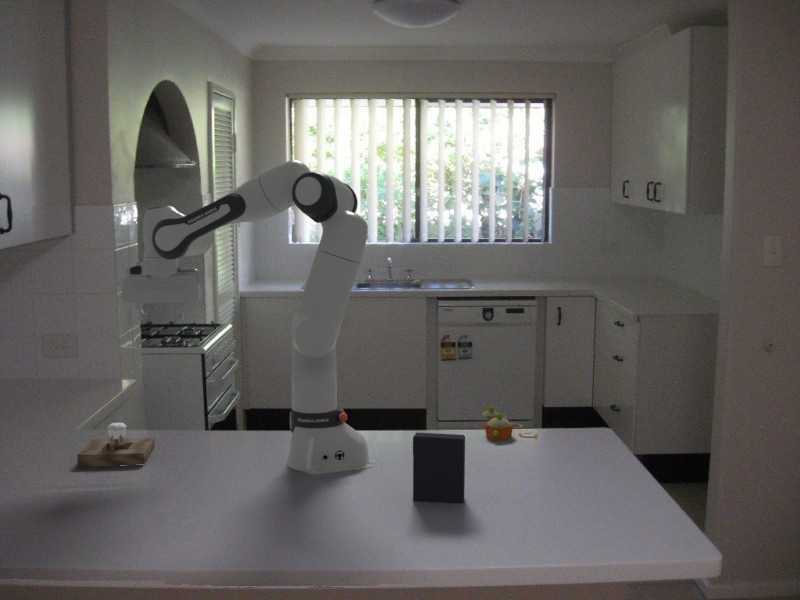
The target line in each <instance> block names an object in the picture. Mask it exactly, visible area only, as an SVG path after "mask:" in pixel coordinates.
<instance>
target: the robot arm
mask: <svg viewBox="0 0 800 600" xmlns="http://www.w3.org/2000/svg"><path fill="white" fill-rule="evenodd" d="M358 202H359V201H358V197H357V194H356V193H355V191H354V190H353V188H352V187H351V186H350V185H349V184H347V183H345V182H344V181H343V182H342V181H341V180H340V179H339V178H337V177H335V176H334V175H331V174H326V173H325V172H323V171H322V172H321V171H315V170H314V171H311V170H310V168H309V167H308V166H307V165H306V164H305V163H304V162H302V161H301V160H299V159H290V160H288V161H285V162H282V163H281V162H280V163H278V164H277V165H274V166H271V167H269V168H267V169H266V170H264V171H261V172H260V173H257V174H256V175H254V176H253V177H252V178H250V179H248V180H247V181H245V182H244V183H242V184H241V185H240V186H238V187H236V188H235V189H233V190H232V191H230V192H228V193H227V194H225V195H224V196H222V197H221V198H219V199H217V200H214V201H213V202H211V203H208V204H207V205H205V206H203V207H201V208H199V209H197V210H194V211H193V212H191V213H189V214H183V213H182V212H180V211H179V210H177V209H176V207H174V206H172V205H163V206H162V205H158V206H154V207H151V208H148V209H147V210H146V211H145V213H144V215H143V221H142V241H143V245H144V252H143V256H142V257H143V258H142V259H143V261H142V262H137V263H135V264H132V265H129V266H127V267H125V274H126V277H124V278H123V280H122V285H121V286H122V287H121V301H122V302H123V303H124V304H135V308H136V310H137V311H138V313H139V314H140V320H141V321H147V320H148V312H145V311H144V310H143V308H142V307H144V304H180V307H181V308H182V309H181V311H180V312H177V313H176V316H177V317H176V320H177V321H184V319H185V317H184V316H185V315H184V314H185V312H186V311H187V309H188V307H189V306H188V304H192V303H193V304H197V303H199V302H200V301H201V298H202V292H201V285H200V284H201V283H202V272H201V271H200V270H199V269H197V268H195V267H179V259H180V258H186V257H187V258H188V257H192V256H199V255H202V254H204V253H206V252H207V251H208V250H210V247H211V245H212V243H213V233H212V232H214V231H217V230H218V229H220V228H222V227H225V226H229V225H233V224H234V225H235V224H239V223H247V222H248V223H250V222H251V223H252V222H259V221H263V220H266V219H269V218H271V217H275V216H277V215H279V214H281V213H283V212H285V211H286V210H288V209H290V208H292V207H293V206H296V207H297V209H299V210H300V211H301V212H302V213H303V214H304V215H305V216H306V217H308V218H309V219H311V221H314V222H315V223H317V224H319V223H320V225H321V228H322V232H321V233H322V234H321V237H320V241H319V244H318V246H317V249H316V252H315V254H314V255H315V256H314V259H313V262H312V265H311V267H310V270H309V273H308V277H307V279H306V283H305V286H304V289H303V293H302V296H301V299H300V303H299V305H298V309H297V311H296V312H297V313H296V314H295V315H294V316H293V320H292V322H291V329H290V330H291V332H290V335H291V408H290V412H289V429H290V432H291V433H290V434H291V435H290V443H289V451H288V455H287V459H286V462H285V463H286V466H287V467H289V468H290V469H292V470H295V471H300V472H305V473H307V474H309V475H313V476H314V475H315V476H316V475H321V474H322V475H323V474H331V473H339V472H347V471H358V470H365V469H371V468H372V467H373V468H374V466H375V465H376V464H377V460H373V459H372V458H370V457H369V449H368V444H367V441H366V439H365V437H364V436H363V435H362V433H360V432H359V431H358V430H356V429H355V428H353V427H351V426H350V425H349V424H347V423H346V422H347V420H348V414H347V413H346V412H345V410H344V409H343V408H342V407H341V408H340V407H338V405H337V404H338V398H337V397H338V395H337V394H338V391H337V390H338V389H337V388H338V387H337V383H338V381H337V380H338V376H337V375H338V374H337V373H338V372H337V341H338V338H339V335H340V332H341V328H342V324H343V321H344V318H345V314H346V310H347V307H348V304H349V300H350V296H351V292H352V290H353V286H354V283H355V281H356V278H357V275H358V272H359V269H360V266H361V262H362V260H363V257H364V253H365V248H366V244H367V238H368V231H369V230H368V228H369V226H368V223H367V221H366V220H365V219H364V218H363V217H362V216H361V215H360V214H358V213H356V211H357V210H358V205H359V204H358Z"/></svg>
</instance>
